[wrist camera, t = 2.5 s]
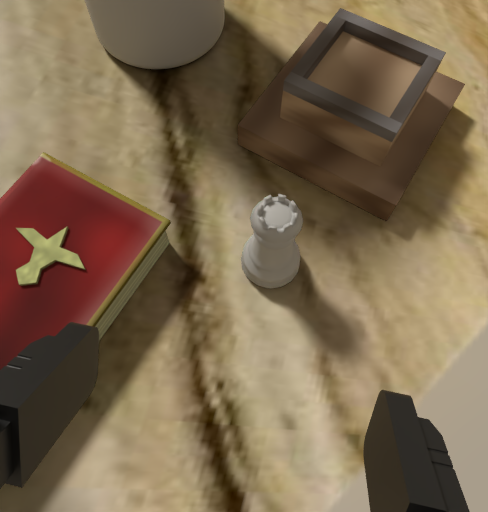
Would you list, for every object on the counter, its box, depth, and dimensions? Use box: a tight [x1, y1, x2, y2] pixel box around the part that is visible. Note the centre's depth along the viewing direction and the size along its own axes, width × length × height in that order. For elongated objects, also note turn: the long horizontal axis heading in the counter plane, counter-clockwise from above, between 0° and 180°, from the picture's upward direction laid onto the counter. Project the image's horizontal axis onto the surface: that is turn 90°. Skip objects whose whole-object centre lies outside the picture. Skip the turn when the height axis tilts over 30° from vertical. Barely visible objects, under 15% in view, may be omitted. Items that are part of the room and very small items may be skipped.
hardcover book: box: [0, 152, 171, 370], centre depth 31 cm, size 12×21×4 cm, turn 150°
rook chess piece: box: [241, 194, 303, 288], centre depth 31 cm, size 4×4×8 cm
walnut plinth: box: [238, 8, 465, 221], centre depth 37 cm, size 14×14×6 cm
